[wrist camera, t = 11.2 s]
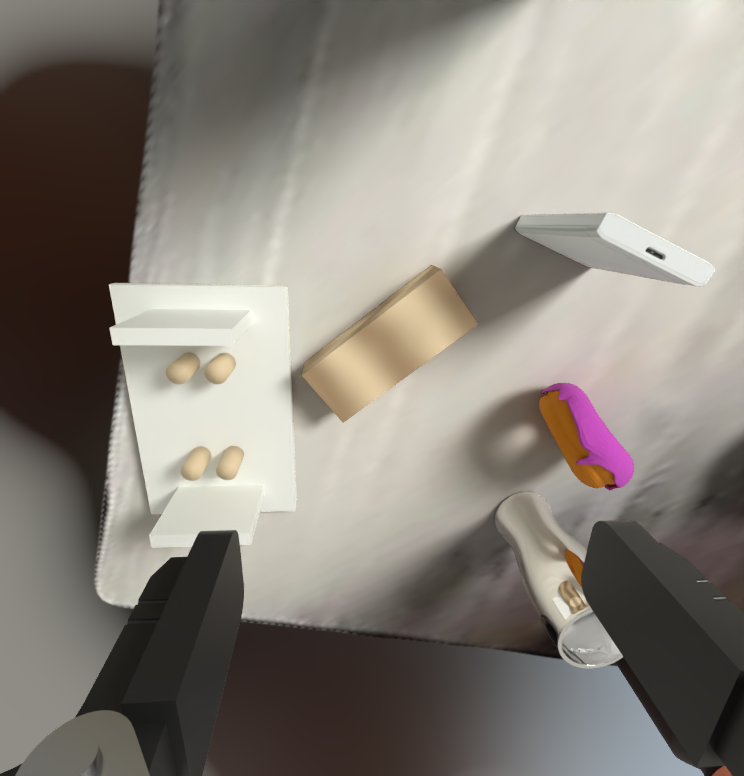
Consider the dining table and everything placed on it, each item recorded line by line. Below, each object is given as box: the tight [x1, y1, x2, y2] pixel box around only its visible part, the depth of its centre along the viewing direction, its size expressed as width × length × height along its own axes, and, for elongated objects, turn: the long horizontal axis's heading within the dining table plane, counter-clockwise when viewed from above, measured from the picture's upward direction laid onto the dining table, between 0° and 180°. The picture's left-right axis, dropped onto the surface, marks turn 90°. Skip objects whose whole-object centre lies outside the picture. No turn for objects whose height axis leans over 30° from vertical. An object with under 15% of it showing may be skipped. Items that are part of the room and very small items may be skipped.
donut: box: [539, 383, 634, 490], centre depth 38 cm, size 8×9×10 cm
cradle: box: [109, 283, 297, 548], centre depth 36 cm, size 22×14×8 cm, turn 179°
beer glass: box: [495, 492, 623, 668], centre depth 40 cm, size 7×7×15 cm
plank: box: [302, 265, 478, 422], centre depth 37 cm, size 14×6×4 cm, turn 127°
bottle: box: [616, 657, 732, 776], centre depth 43 cm, size 7×7×20 cm
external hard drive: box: [515, 213, 715, 287], centre depth 31 cm, size 2×8×12 cm, turn 67°
